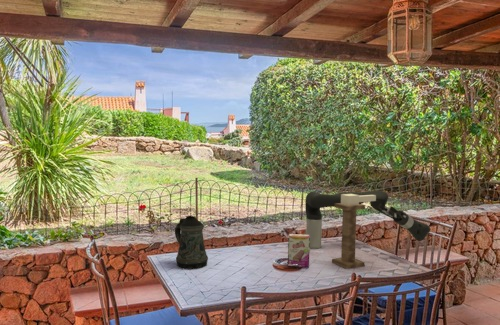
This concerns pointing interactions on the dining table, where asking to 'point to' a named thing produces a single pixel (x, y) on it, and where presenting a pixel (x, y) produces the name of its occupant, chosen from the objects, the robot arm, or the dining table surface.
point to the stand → (348, 237)
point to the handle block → (356, 199)
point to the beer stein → (190, 244)
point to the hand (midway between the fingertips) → (384, 206)
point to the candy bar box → (299, 249)
